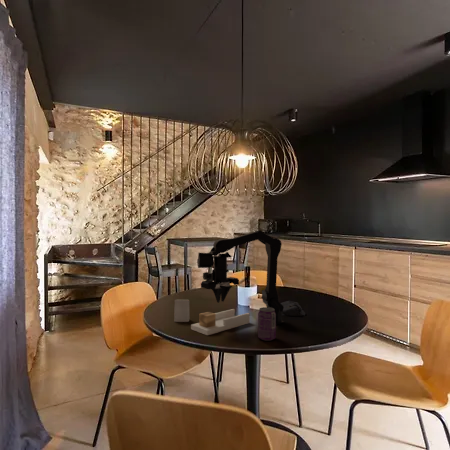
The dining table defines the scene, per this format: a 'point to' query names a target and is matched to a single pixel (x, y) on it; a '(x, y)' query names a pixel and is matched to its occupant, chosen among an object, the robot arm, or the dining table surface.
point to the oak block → (207, 319)
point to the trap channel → (223, 322)
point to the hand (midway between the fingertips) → (220, 301)
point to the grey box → (181, 311)
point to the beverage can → (267, 324)
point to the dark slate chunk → (292, 309)
